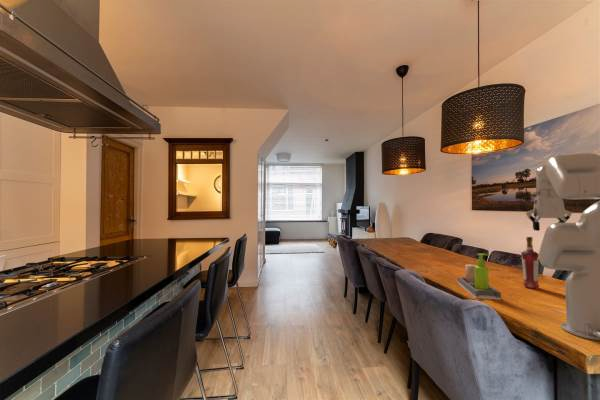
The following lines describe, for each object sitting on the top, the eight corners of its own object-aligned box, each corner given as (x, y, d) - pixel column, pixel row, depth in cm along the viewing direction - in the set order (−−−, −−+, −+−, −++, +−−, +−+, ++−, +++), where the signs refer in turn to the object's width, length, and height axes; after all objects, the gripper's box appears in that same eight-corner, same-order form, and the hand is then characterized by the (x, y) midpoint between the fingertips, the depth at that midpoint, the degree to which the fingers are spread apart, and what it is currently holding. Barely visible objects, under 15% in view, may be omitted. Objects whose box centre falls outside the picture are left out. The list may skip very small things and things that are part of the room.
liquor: (523, 284, 151) (521, 235, 152) (540, 287, 146) (538, 236, 146) (521, 287, 146) (519, 237, 147) (539, 290, 141) (537, 238, 141)
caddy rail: (501, 299, 129) (500, 275, 129) (475, 298, 131) (474, 274, 131) (478, 284, 154) (478, 263, 154) (457, 283, 156) (457, 262, 157)
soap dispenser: (493, 294, 134) (492, 254, 134) (478, 293, 135) (477, 254, 135) (487, 290, 139) (486, 252, 140) (473, 289, 141) (472, 252, 141)
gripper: (530, 193, 121) (532, 231, 120) (576, 192, 116) (578, 231, 116) (521, 194, 128) (522, 229, 127) (564, 193, 124) (565, 229, 123)
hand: (549, 230), depth 122 cm, fingers open, 9 cm apart
